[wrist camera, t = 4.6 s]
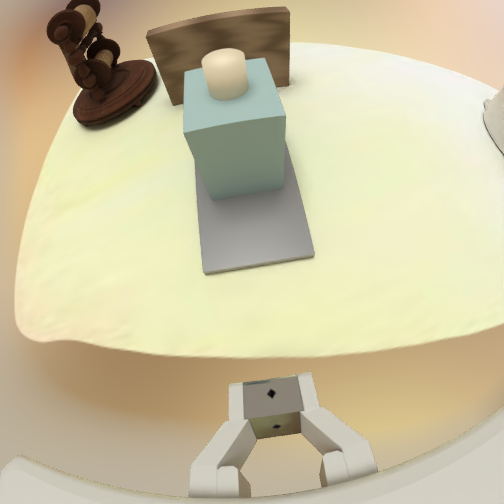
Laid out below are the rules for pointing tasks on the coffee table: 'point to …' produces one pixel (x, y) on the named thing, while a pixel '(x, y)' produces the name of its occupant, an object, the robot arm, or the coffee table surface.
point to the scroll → (98, 65)
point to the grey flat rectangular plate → (253, 226)
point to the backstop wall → (221, 43)
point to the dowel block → (235, 124)
